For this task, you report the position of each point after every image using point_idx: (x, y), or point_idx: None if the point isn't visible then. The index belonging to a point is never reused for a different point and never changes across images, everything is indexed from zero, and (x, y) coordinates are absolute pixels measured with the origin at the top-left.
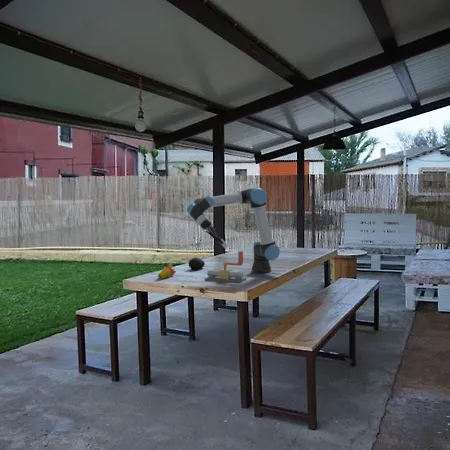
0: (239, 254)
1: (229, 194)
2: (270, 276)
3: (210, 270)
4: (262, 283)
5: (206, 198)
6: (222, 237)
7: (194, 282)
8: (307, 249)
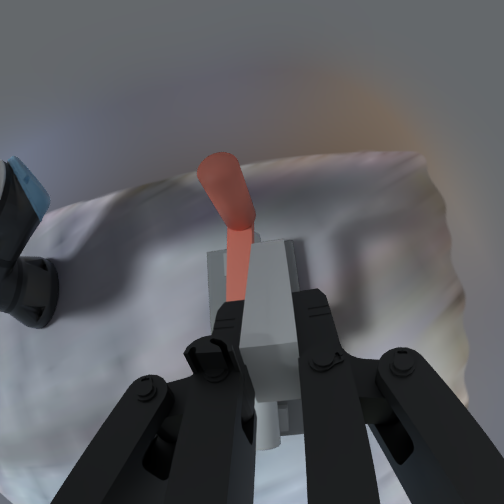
0: (243, 180)
1: None
2: (110, 214)
3: (265, 435)
4: (258, 163)
5: None
6: (207, 346)
7: (373, 440)
8: None
